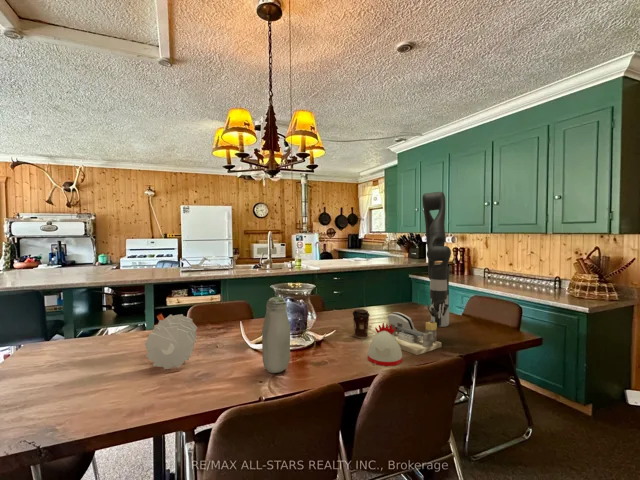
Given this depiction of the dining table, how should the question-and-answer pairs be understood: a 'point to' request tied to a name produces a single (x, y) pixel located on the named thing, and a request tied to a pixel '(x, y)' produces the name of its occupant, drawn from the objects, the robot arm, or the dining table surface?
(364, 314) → the coffee cup
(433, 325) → the block
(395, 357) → the kitchen timer
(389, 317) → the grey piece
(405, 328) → the strap
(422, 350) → the cream board with rail
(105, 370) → the dining table surface
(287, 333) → the glass bottle
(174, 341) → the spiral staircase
